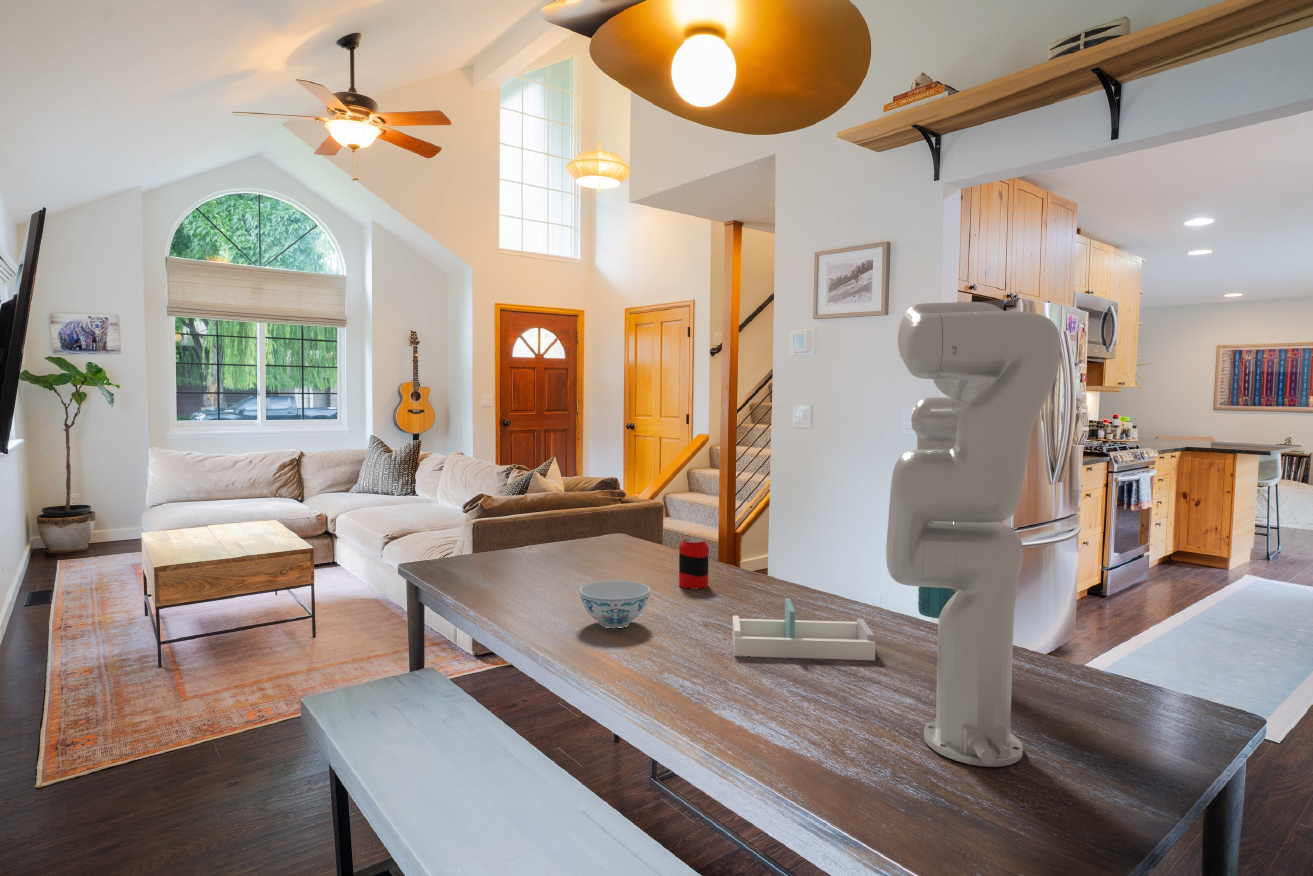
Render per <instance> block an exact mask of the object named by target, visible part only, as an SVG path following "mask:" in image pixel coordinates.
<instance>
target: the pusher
mask: <svg viewBox="0 0 1313 876" xmlns="http://www.w3.org/2000/svg"><path fill="white" fill-rule="evenodd" d="M784 620H785V624H784V636H785V638H795V620H796V610H795V607H794V606H793V603H792V600H791V598H788V597H787V598H784Z"/></svg>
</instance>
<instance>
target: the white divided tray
mask: <svg viewBox="0 0 1313 876" xmlns="http://www.w3.org/2000/svg"><path fill="white" fill-rule="evenodd" d="M784 624H785V619H764V618H763V619H761V618H740V616H739V615H732V633H731V634H732V645H733V646H734V647H733V657H748V656H750V657H753V658H755V657H756V658H758V657H759V658H785V659H786V658H787V659H789V658H790V659H814V660H815V659H816V660H817V659H820V660H848V661H849V660H853V661H854V660H855V661H856V660H857V661H876V641H875V635H874V633H873V632H872V630H871V629H870V627H869V626H868V624H867V623H866V621H865V620H864V619H863V618H856V621H843V620H842V621H840V620H837V621H836V620H800V619H799V620H798V619H795V638H785V636H784Z"/></svg>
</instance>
